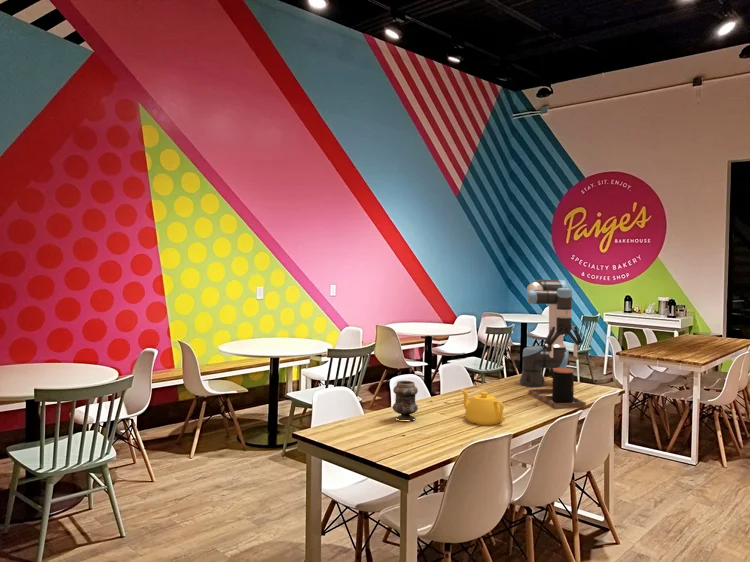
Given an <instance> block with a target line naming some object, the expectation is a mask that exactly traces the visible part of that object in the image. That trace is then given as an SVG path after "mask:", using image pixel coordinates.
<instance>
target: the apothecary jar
mask: <svg viewBox="0 0 750 562" xmlns="http://www.w3.org/2000/svg"><path fill="white" fill-rule="evenodd" d="M392 391H393V393H394V394H395V402H394V403H393V405H392V410H393V411H394V412H395V413H397V414H399V415H398V417H397V416H396V417H395V418H397V419H399V420H413V419H415V420H416V417H415V416H412V414H415V413H416V412H417V411H418V409H419V407H418V404H417V403H416V395H417V394H418V392H419V390H418V387H417V386H416V384H415V382H414V381H413V380H398V381H396V385H395V386H394V387H393V390H392Z"/></svg>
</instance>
